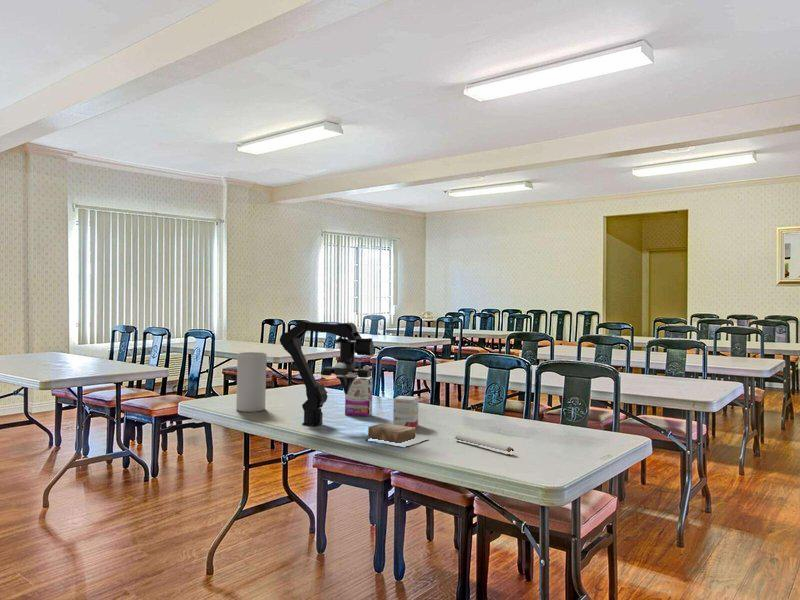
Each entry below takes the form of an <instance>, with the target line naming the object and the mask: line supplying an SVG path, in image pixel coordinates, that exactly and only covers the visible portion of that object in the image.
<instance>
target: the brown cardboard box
mask: <svg viewBox="0 0 800 600" xmlns="http://www.w3.org/2000/svg"><path fill="white" fill-rule="evenodd" d="M416 428H417V427H416ZM416 428H413V427H407V426H401V425H395V424H393V423H388V422H382V423H378V424H374V425H370V426H368V430H367V433H368V435H367V439H370V438H372V439H378V440H384V441H389V442H395V443H402V442H405V441H408V440H411V439H414V438H415V437H416V431H417V430H416Z"/></svg>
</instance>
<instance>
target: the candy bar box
mask: <svg viewBox="0 0 800 600" xmlns="http://www.w3.org/2000/svg"><path fill="white" fill-rule="evenodd" d="M373 378H374V377H368V378H362V377H359V376H357V378H355V379H354V381H353V383H352V385H351V387H350V389H349V392H348V394H345V393H344V395H345V397H344V399H345V400H344V401H345V402H344V405H345V406H344V409H345V410H344V415H346V416H353V415H357V417H358V416H359V417H368V416H369V417H371V416H372V415H373V383H374V382H373Z"/></svg>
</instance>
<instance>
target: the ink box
mask: <svg viewBox="0 0 800 600" xmlns="http://www.w3.org/2000/svg"><path fill="white" fill-rule="evenodd" d="M392 410H393V417H392V419H393V421H392V422H393V423H392V424H395V425H401V426H407V427H413V428H414V427H416V426H417V425H418V426H419V396H408V395H398V396H396V397H395V398H393V409H392ZM418 426H417V427H418ZM417 427H416V428H417Z"/></svg>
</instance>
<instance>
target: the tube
mask: <svg viewBox="0 0 800 600" xmlns="http://www.w3.org/2000/svg"><path fill="white" fill-rule="evenodd" d="M454 439H457V440H461V441H466V442H470V443H474V444H478V445H483V446H487V447H491V448H495V449H499V450H503V451H508V452H510V451H511V450H512V451H514V452H515V450H514V448H512V447H511V446H508V445H504V444H500V443H498V442H497V443H496V442H493V441H489V440H486V439H481V438H478V437H474V436H470V435H466V434H462V433H456V434H455V436H454Z"/></svg>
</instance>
